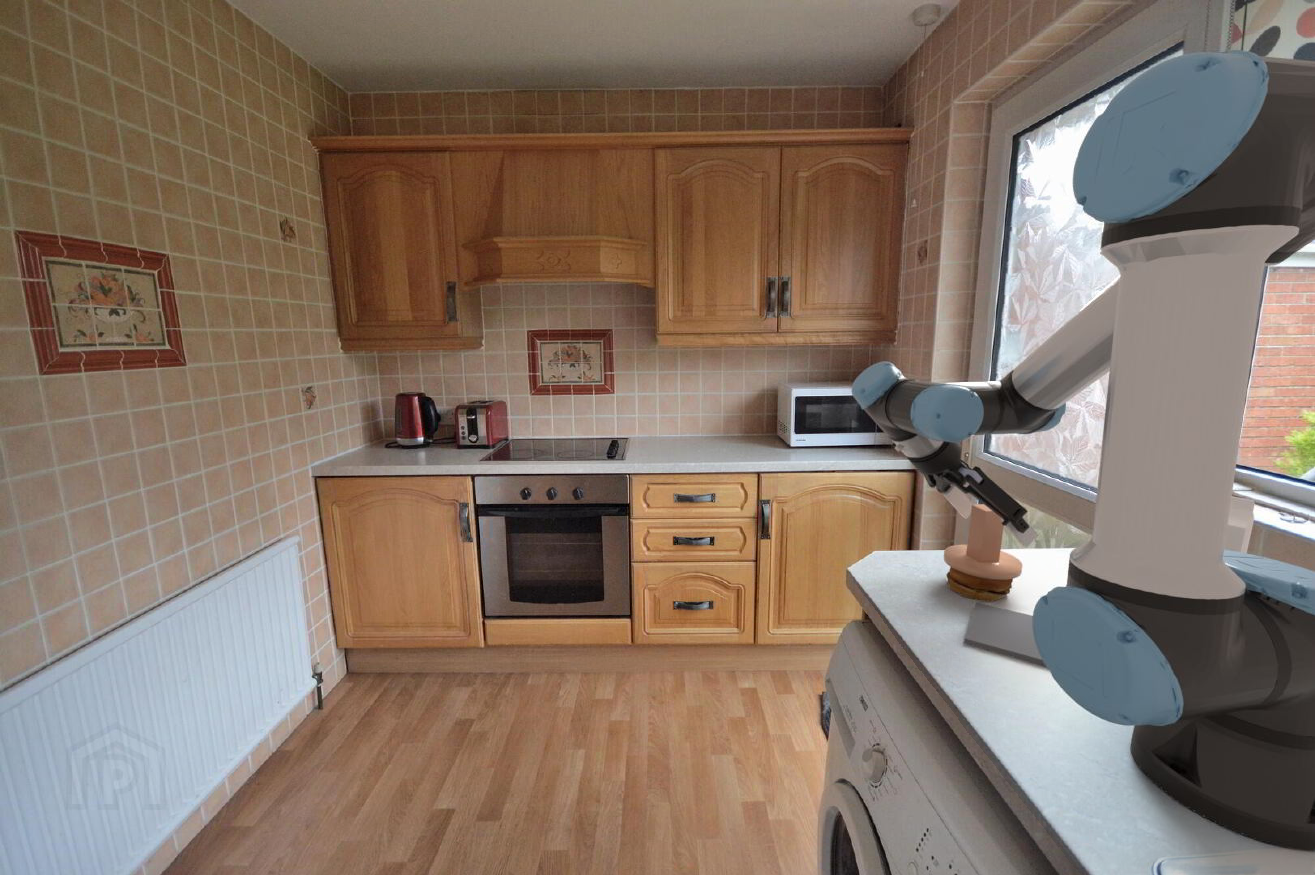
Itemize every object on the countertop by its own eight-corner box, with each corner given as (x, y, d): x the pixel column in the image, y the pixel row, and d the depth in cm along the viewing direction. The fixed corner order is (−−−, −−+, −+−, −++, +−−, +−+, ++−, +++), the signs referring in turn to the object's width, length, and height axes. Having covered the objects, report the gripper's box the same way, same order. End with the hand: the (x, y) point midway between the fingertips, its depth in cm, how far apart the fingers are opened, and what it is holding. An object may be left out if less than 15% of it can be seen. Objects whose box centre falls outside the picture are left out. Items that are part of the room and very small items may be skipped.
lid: (972, 581, 90) (980, 521, 88) (929, 552, 102) (935, 498, 99) (1038, 577, 92) (1047, 517, 90) (989, 549, 103) (995, 495, 101)
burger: (956, 600, 94) (959, 574, 93) (939, 576, 103) (942, 552, 102) (1021, 606, 92) (1025, 579, 91) (999, 581, 101) (1002, 556, 100)
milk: (1217, 659, 77) (1252, 505, 72) (1159, 640, 82) (1189, 494, 77) (1226, 644, 81) (1260, 496, 76) (1170, 626, 85) (1199, 485, 81)
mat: (1085, 677, 73) (1086, 672, 73) (964, 643, 81) (964, 638, 81) (1082, 632, 84) (1083, 628, 83) (974, 606, 91) (975, 601, 91)
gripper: (868, 443, 102) (935, 517, 108) (964, 480, 78) (1043, 573, 84) (897, 413, 102) (962, 489, 108) (1002, 441, 78) (1079, 536, 84)
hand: (998, 526), depth 96 cm, fingers open, 13 cm apart
